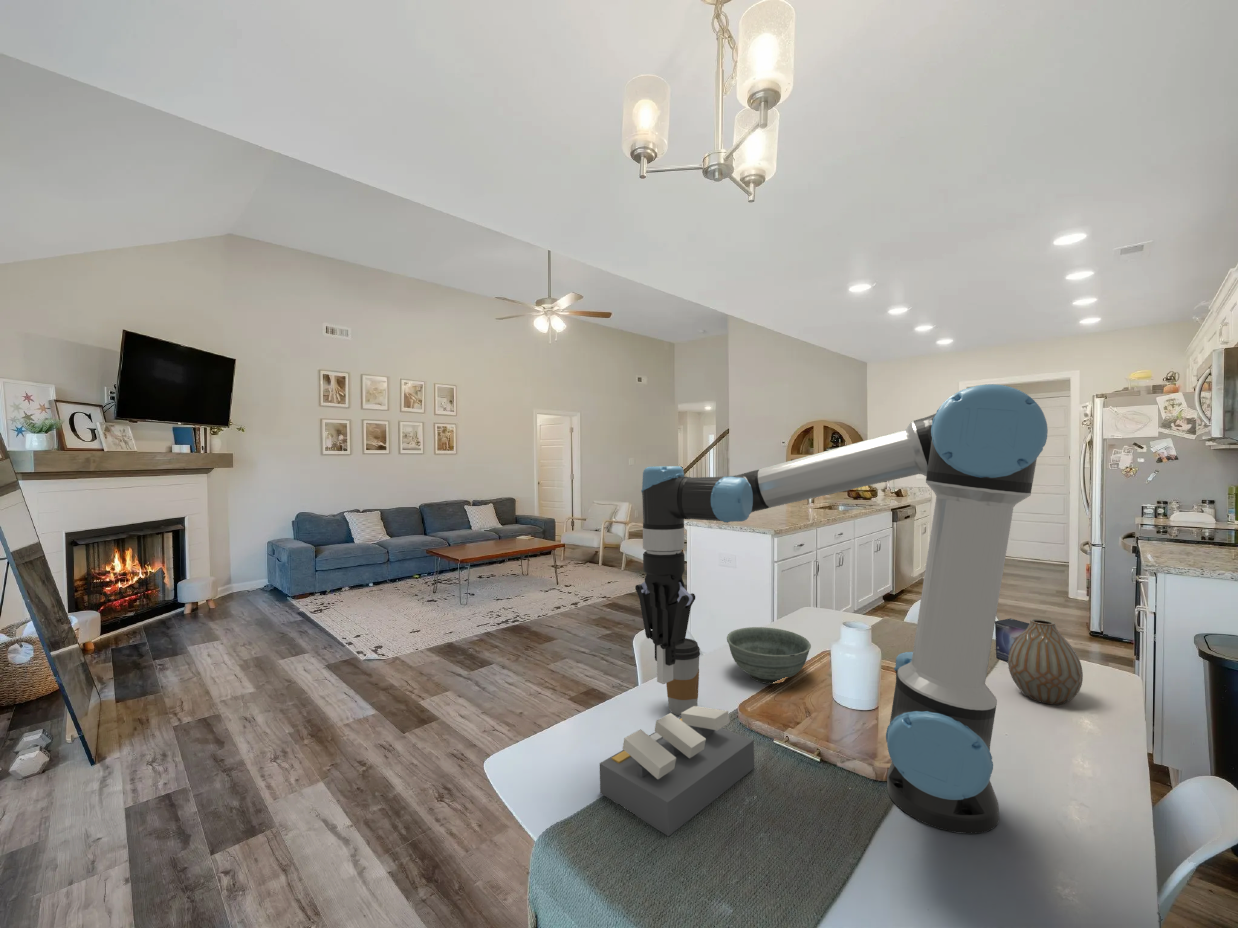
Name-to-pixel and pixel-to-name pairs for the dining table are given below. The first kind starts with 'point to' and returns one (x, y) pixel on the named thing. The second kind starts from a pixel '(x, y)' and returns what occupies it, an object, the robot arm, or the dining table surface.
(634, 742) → the rocker
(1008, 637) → the small box
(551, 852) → the dining table surface
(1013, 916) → the dining table surface
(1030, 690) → the vase
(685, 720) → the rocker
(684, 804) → the switch unit
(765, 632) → the bowl
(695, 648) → the coffee cup
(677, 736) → the rocker
